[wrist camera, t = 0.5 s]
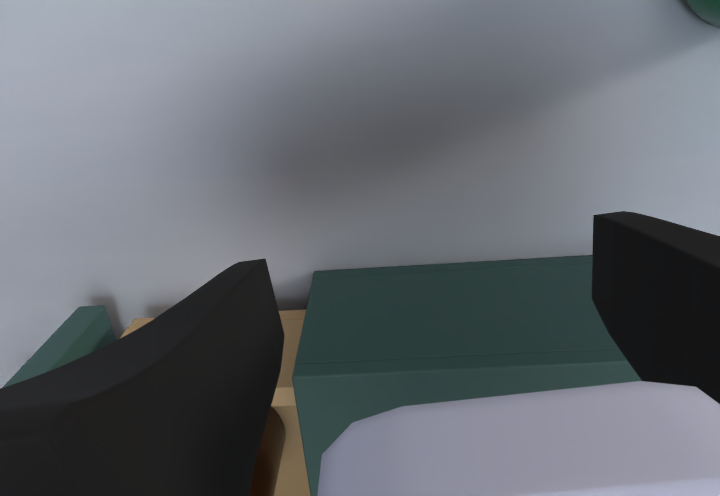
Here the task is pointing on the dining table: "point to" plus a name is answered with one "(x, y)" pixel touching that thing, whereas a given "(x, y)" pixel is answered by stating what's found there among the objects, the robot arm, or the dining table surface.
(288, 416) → the drawer
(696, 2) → the soda can
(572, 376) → the cabinet
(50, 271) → the dining table surface
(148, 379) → the robot arm
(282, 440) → the pepper mill
